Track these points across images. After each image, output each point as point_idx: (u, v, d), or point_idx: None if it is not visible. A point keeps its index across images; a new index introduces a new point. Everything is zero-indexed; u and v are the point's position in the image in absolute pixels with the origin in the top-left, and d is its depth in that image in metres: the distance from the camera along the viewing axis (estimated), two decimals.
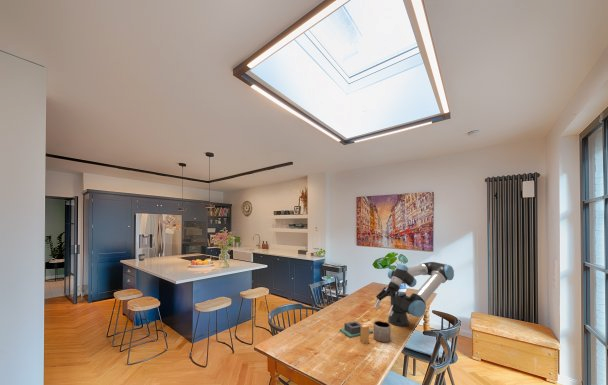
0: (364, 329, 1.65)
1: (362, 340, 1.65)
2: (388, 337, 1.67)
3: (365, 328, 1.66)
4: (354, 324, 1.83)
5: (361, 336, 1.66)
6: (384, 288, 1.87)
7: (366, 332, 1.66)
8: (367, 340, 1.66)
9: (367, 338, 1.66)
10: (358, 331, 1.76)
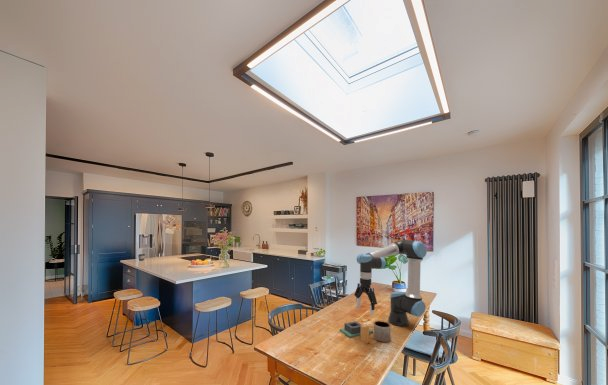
0: (364, 329, 1.65)
1: (362, 340, 1.65)
2: (388, 337, 1.67)
3: (365, 328, 1.66)
4: (354, 324, 1.83)
5: (361, 336, 1.66)
6: (358, 285, 1.75)
7: (366, 332, 1.66)
8: (367, 340, 1.66)
9: (367, 338, 1.66)
10: (358, 331, 1.76)
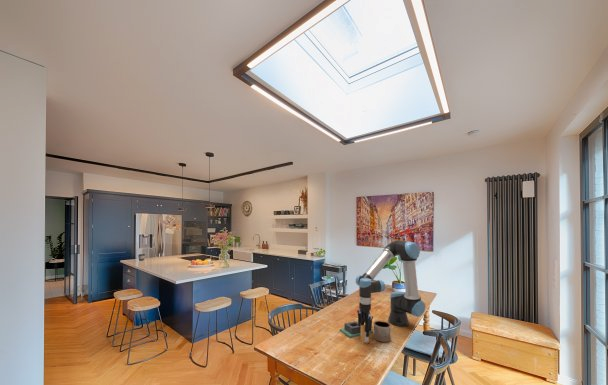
0: (364, 329, 1.65)
1: (362, 340, 1.65)
2: (388, 337, 1.67)
3: None
4: (354, 324, 1.83)
5: (361, 336, 1.66)
6: (358, 311, 1.73)
7: None
8: None
9: None
10: (358, 331, 1.76)
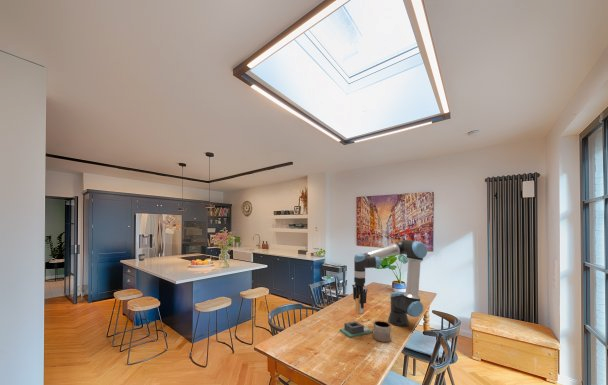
0: (359, 302, 1.74)
1: (357, 312, 1.74)
2: (388, 337, 1.67)
3: None
4: (354, 324, 1.83)
5: (356, 308, 1.75)
6: (353, 286, 1.81)
7: None
8: None
9: None
10: (358, 331, 1.76)
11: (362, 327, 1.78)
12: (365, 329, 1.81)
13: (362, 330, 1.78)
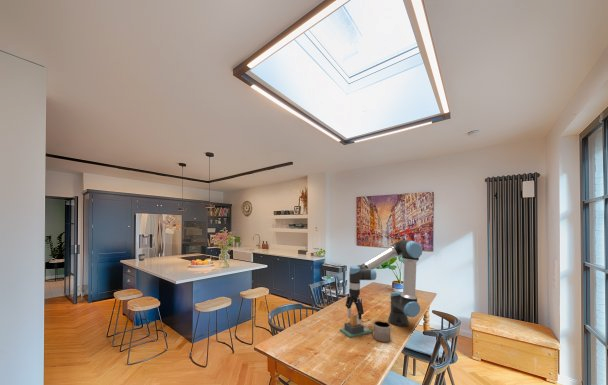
0: (353, 318, 1.79)
1: None
2: (388, 337, 1.67)
3: (354, 316, 1.79)
4: None
5: (350, 324, 1.80)
6: (348, 295, 1.87)
7: (356, 320, 1.80)
8: None
9: None
10: (358, 331, 1.76)
11: (362, 327, 1.78)
12: (365, 329, 1.81)
13: (362, 330, 1.78)
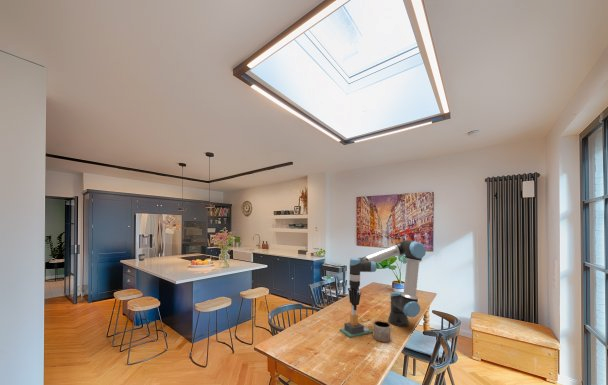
0: (353, 318, 1.79)
1: None
2: (388, 337, 1.67)
3: (354, 316, 1.79)
4: None
5: (350, 324, 1.80)
6: (348, 289, 1.87)
7: (355, 320, 1.80)
8: None
9: None
10: (358, 331, 1.76)
11: (362, 327, 1.78)
12: (365, 329, 1.81)
13: (362, 330, 1.78)
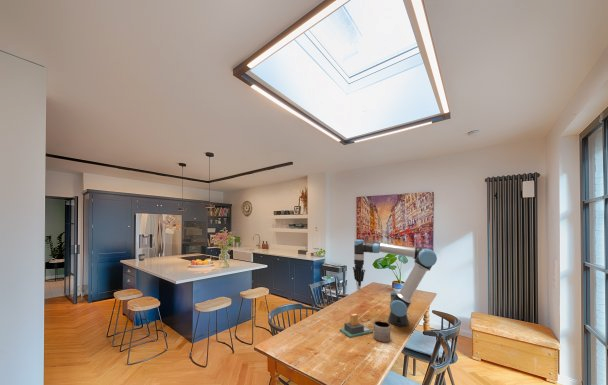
0: (353, 318, 1.79)
1: None
2: (388, 337, 1.67)
3: (354, 316, 1.79)
4: None
5: (350, 324, 1.80)
6: (353, 268, 2.06)
7: (356, 320, 1.80)
8: None
9: None
10: (358, 331, 1.76)
11: (362, 327, 1.78)
12: (365, 329, 1.81)
13: (362, 330, 1.78)
